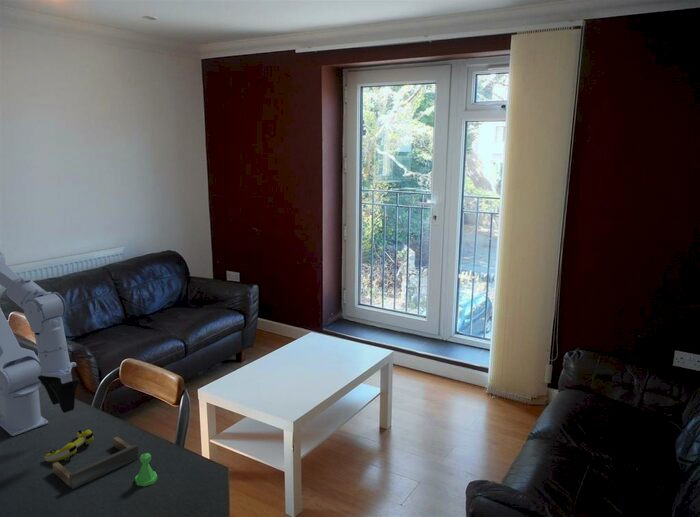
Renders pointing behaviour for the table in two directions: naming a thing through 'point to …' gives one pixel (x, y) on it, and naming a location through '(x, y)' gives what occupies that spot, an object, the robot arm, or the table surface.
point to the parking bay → (98, 465)
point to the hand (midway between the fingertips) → (63, 406)
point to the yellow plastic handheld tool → (70, 447)
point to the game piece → (145, 472)
